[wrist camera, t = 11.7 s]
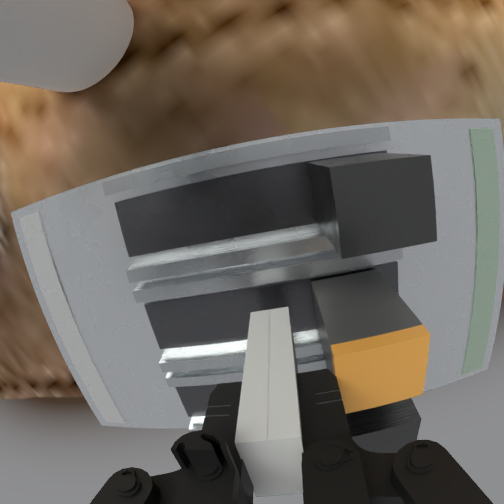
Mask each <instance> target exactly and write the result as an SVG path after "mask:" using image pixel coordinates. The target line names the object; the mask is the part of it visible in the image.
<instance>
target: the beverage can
mask: <svg viewBox="0 0 504 504" xmlns="http://www.w3.org/2000/svg"><path fill="white" fill-rule="evenodd" d="M133 28H134V17H133V12H132V9H131V7H130V5H129V3H128V2H127V0H0V82H6V83H12V84H18V85H24V86H30V87H36V88H41V89H47V90H52V91H58V92H76V91H81V90H84V89H86V88H88V87H91V86H92V85H94V84H96V83H97V82H99V81H100V80H102V79H103V78H104V77H105V76H106V75H108V74H109V73H110V72H111V71H112V70H113V69H114V67H115V66H116V65H117V64H118V62H119V61H120V60H121V58H122V57H123V55H124V53H125V52H126V50H127V48H128V46H129V43H130V41H131V37H132V34H133Z"/></svg>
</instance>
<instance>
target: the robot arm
mask: <svg viewBox="0 0 504 504" xmlns="http://www.w3.org/2000/svg"><path fill="white" fill-rule="evenodd" d="M207 406H208V408H207V410H206V414H205V418H204V422H203V426H202V430H198V431H192V432H190V433H187V434H185V435H183V436H181V437H180V438H179V439H178V440H177V441H175V443H174V445H173V446H172V448H171V451H172V453H173V454H174V456H175V458H176V459H177V461H178V463H179V465H180V466H181V468H182V469H180V470H178V471H174V472H171V473H167V474H162V475H156V476H151V477H150V476H149V474H148V473H147V472H146V471H144V470H142V469H139V468H133V467H131V468H126V469H122V470H120V471H118V472H116V473H114V474H113V475H112V476H111V477H110V478H109V479H108V481H107V482H106V483H105V484H104V486H103V487H102V488H101V490H100V491H99V492H98V494H97V495H96V496H95V498H94V499H93V500H92V502H91V503H90V504H253V490H254V492H255V495H256V497H264V496H277V495H289V494H298V493H303V500H304V504H493V503H492V502H491V501H490V500H489V498H488V497H487V496H486V495H485V494H484V493H483V491H482V490H481V489H480V488H479V487H478V486H477V484H476V483H475V482H474V481H473V480H472V479H471V478H470V476H469V475H468V474H467V473H466V472H465V471H464V470H463V469H462V467H461V466H460V465H459V464H458V463H457V462H456V461H455V459H454V458H453V457H452V456H451V455H450V454H449V453H448V451H447V450H446V449H445V448H444V447H442V446H441V445H440V444H439V443H437V442H433V441H430V440H416V441H413V442H410V443H407V444H406V445H405V446H403V447H402V448H400V449H399V450H398V452H397V453H377V452H370V451H367V450H364V449H362V448H361V447H359V446H358V445H357V444H356V443H355V442H354V441H353V439H352V436H351V433H350V429H349V425H348V421H347V417H346V412H345V408H344V404H343V401H342V397H341V393H340V389H339V385H338V381H337V377H336V376H335V375H334V374H333V373H332V372H331V371H330V370H329V369H328V368H327V369H321V370H315V371H309V372H303V373H298V366H297V359H296V352H295V346H294V339H293V333H292V327H291V320H290V314H289V308H288V307H283V308H276V309H270V310H263V311H257V312H251V314H250V322H249V330H248V339H247V347H246V355H245V363H244V371H243V379H242V381H240V382H230V383H219V384H218V385H217V386H216V388H215V389H214V390H213V391H212V392H211V394H210V397H209V401H208V405H207Z"/></svg>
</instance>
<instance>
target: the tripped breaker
mask: <svg viewBox="0 0 504 504" xmlns="http://www.w3.org/2000/svg"><path fill="white" fill-rule="evenodd" d="M311 284H312V291H313V298H314V306H315V314H316V322H317V330H318V334H319V338H320V342H321V346H322V350H323V354H324V358H325V362H326V367H327V368H328V369H329V370H330V371H331V372H332V373H333V374H334V375H335V376H336V377H337V381H338V385H339V389H340V393H341V397H342V401H343V404H344V408H345V412H346V414H347V413H352V412H357V411H361V410H366V409H370V408H374V407H378V406H382V405H386V404H390V403H394V402H398V401H401V400H405V399H409V398H412V397H415V396H419V395H422V394H423V390H424V383H425V376H426V369H427V361H428V353H429V343H430V333H429V332H428V330H427V329H426V328H425V327H424V325H423V324H422V323H421V322H420V320H419V319H418V318H417V317H416V315H415V314H414V313H413V312H412V310H411V309H410V308H409V307H408V306H407V304H406V303H405V302H404V301H403V299H402V298H401V297H400V296H399V295H398V293H397V292H396V291H395V290H394V289H393V288H392V286H391V285H390V284H389V283H388V282H387V280H386V279H385V278H384V277H383V276H382V275H381V274H380V272H379V271H378V270H377V269H375V270H370V271H365V272H360V273H355V274H349V275H344V276H339V277H333V278H328V279H322V280H316V281H311Z"/></svg>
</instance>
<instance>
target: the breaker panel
mask: <svg viewBox="0 0 504 504" xmlns="http://www.w3.org/2000/svg"><path fill="white" fill-rule="evenodd" d="M11 216H12V220H13V224H14V228H15V231H16V235H17V239H18V242H19V245H20V249H21V252H22V255H23V258H24V262H25V265H26V268H27V271H28V274H29V277H30V279H31V282H32V285H33V288H34V290H35V293H36V296H37V298H38V301H39V304H40V306H41V309H42V311H43V313H44V316H45V318H46V321H47V323H48V325H49V328H50V330H51V332H52V334H53V337H54V339H55V341H56V343H57V345H58V347H59V349H60V352H61V354H62V356H63V358H64V360H65V362H66V364H67V366H68V368H69V370H70V372H71V373H72V375H73V377H74V379H75V381H76V383H77V385H78V386H79V388H80V390H81V392H82V394H83V395H84V397H85V399H86V401H87V402H88V404H89V406H90V407H91V409H92V411H93V412H94V414H95V415H96V417H97V419H98V420H99V422H100V424H101V425H102V426H114V427H130V428H154V429H155V428H156V429H188V430H189V432H192V431H198V430H202V426H203V422H204V418H205V414H206V410H207V408H208V406H207V405H208V401H209V397H210V394H211V392H212V391H213V390H214V389H215V388H216V386H217V385H218V384H219V383H230V382H240V381H242V379H243V371H244V363H245V355H246V347H247V339H248V330H249V322H250V314H251V312H257V311H263V310H270V309H276V308H283V307H288V308H289V314H290V320H291V327H292V333H293V339H294V346H295V352H296V359H297V366H298V373H303V372H309V371H315V370H321V369H327V367H326V362H325V358H324V354H323V350H322V346H321V342H320V338H319V334H318V330H317V322H316V314H315V306H314V298H313V291H312V284H311V281H316V280H322V279H328V278H333V277H339V276H344V275H349V274H355V273H360V272H365V271H370V270H375V269H377V270H378V271H379V272H380V274H381V275H382V276H383V277H384V278H385V279H386V280H387V282H388V283H389V284H390V285H391V286H392V288H393V289H394V290H395V291H396V292H397V293H398V295H399V296H400V297H401V298H402V299H403V301H404V302H405V303H406V304H407V306H408V307H409V308H410V309H411V310H412V312H413V313H414V314H415V315H416V317H417V318H418V319H419V320H420V322H421V323H422V324H423V325H424V327H425V328H426V329H427V330H428V332H429V333H430V343H429V353H428V361H427V369H426V376H425V383H424V390H423V392H426V391H429V390H432V389H435V388H438V387H441V386H444V385H447V384H450V383H453V382H456V381H458V380H461V379H464V378H466V377H469V376H472V375H475V374H477V373H480V372H482V371H485V370H487V369H488V367H489V363H490V359H491V354H492V350H493V345H494V341H495V336H496V330H497V324H498V319H499V313H500V307H501V300H502V292H503V284H504V146H503V138H502V131H501V124H500V119H431V120H412V121H397V122H385V123H373V124H363V125H354V126H345V127H337V128H329V129H322V130H315V131H308V132H301V133H295V134H288V135H282V136H277V137H271V138H265V139H260V140H254V141H249V142H244V143H239V144H234V145H230V146H225V147H220V148H216V149H211V150H207V151H202V152H198V153H194V154H190V155H186V156H182V157H178V158H174V159H170V160H166V161H162V162H158V163H155V164H151V165H147V166H144V167H140V168H137V169H133V170H130V171H127V172H123V173H120V174H117V175H113V176H110V177H107V178H104V179H101V180H97V181H94V182H91V183H88V184H85V185H82V186H79V187H77V188H74V189H71V190H68V191H65V192H62V193H59V194H57V195H54V196H51V197H49V198H46V199H43V200H41V201H38V202H35V203H33V204H30V205H28V206H25V207H23V208H20V209H18V210H15V211H13V212H11ZM346 417H347V421H348V425H349V429H350V433H351V436H352V439H353V441H354V442H355V443H356V444H357V445H358V446H359V447H361V448H362V449H364V450H367V451H370V452H377V453H397V452H398V450H399V449H400V448H402V447H403V446H405V445H406V444H407V443H410V442H413V441H416V440H417V435H418V431H419V427H420V422H421V418H420V416H419V413H418V412H417V409H416V407H415V405H414V403H413V401H412V399H411V398H409V399H405V400H401V401H398V402H394V403H390V404H386V405H382V406H378V407H374V408H370V409H366V410H361V411H357V412H352V413H347V414H346Z"/></svg>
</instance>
